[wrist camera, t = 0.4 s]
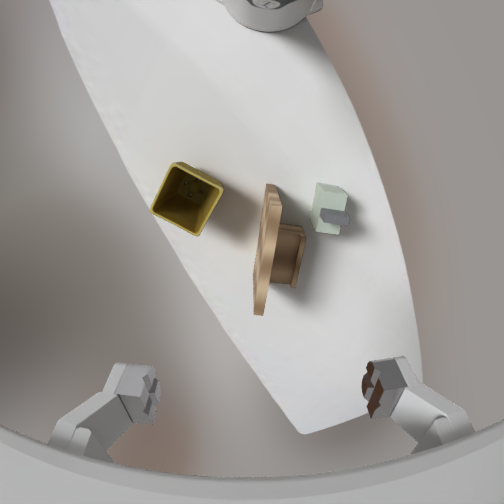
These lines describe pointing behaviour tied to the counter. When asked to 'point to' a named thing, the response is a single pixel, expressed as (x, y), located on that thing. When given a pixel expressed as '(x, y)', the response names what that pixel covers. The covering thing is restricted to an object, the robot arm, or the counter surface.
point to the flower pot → (186, 198)
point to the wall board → (275, 250)
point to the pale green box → (329, 209)
